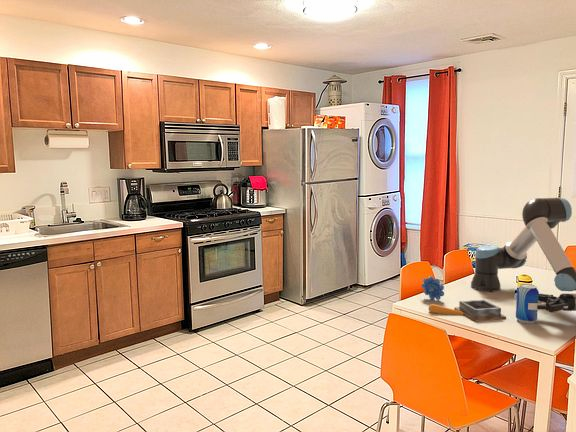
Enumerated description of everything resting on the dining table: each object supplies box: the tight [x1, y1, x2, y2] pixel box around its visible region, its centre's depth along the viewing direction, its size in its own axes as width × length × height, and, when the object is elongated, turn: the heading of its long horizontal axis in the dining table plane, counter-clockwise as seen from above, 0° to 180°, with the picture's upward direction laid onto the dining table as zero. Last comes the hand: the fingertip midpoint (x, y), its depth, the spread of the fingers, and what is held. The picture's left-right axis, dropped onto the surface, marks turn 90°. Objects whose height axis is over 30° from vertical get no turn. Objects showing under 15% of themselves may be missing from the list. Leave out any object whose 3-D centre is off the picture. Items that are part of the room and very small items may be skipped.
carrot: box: [428, 303, 464, 316], centre depth 209 cm, size 20×4×4 cm, turn 76°
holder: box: [453, 299, 507, 322], centre depth 208 cm, size 16×16×4 cm
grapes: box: [421, 275, 445, 301], centre depth 229 cm, size 12×7×12 cm, turn 55°
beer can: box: [515, 283, 540, 325], centre depth 198 cm, size 8×8×16 cm
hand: (521, 301), depth 198 cm, fingers open, 13 cm apart
